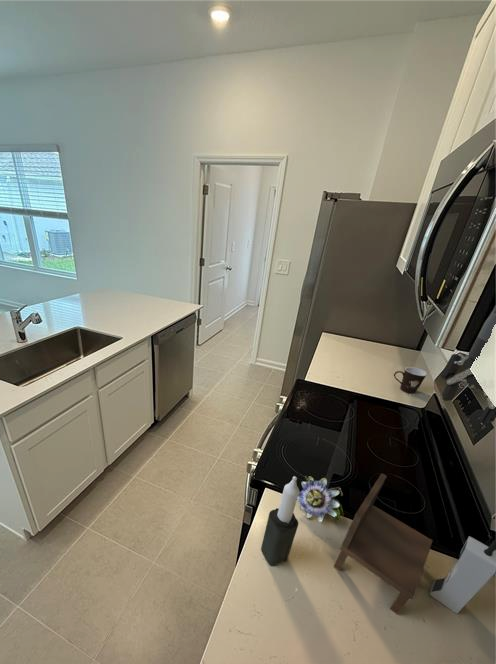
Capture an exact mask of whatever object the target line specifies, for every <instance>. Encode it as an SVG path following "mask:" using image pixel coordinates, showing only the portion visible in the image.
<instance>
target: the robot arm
mask: <svg viewBox="0 0 496 664" xmlns="http://www.w3.org/2000/svg"><path fill="white" fill-rule="evenodd" d="M495 324H496V304H495V305H494V307H493V309H492V311H491V312H490V314H489V315H488V317H487V319H485V321H484V322H483V325H482V326H481V328H480V331H479V332H478V335H477V336H476V338H475V340H474V342H473V344H472V346H471V348H470V350H469V352H468V357H467V355H466V354H465V353H453V354H451V355H450V358H449V359H448V360H447V363H446V365H445V367H444V368H443V370H442V372H441V373H440V378H441V379H444V380H445V381H446V386H445V388H444V389H443V391H442V394H441V396H442V398H441V399H442V400H443V401H445V402H449V401H452V400H453V399H455V395H456V394H457V392H458V390H459V389H460V384H463V383H464V382H466V383H467V384H469V385H472V386H475V387H476V389H478V390H481V391H483V389H482V388H481V386H480V385H479V383H478V382H477V380H476V379H475V377H474V375H473V374H472V373H471V370H470V368H471V366H472V364H473V362H474V361H475V359H476V357H477V358H478V356H480V353H481V350H482V348H483V347H484V345H485V343H487V342H488V339H489V338H490V336H491V333H492V329H493V327H494V325H495ZM476 360H477V359H476ZM461 366H463V371H461V372H459V373H458V371H459V369H460V368H461ZM483 396H484V397H485V398H486V402H487V406H486V407H485V409H483V412H482V413H481V415H480V417H479V418H478V420H477V421H478V422H479V423H480V424H489V423H493V422H495V420H496V407H495V406H494V405H493V404H492V402H491V401H490V399H489V398H488V396H487V395H486V394H485V392H484V391H483Z"/></svg>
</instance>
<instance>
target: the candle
mask: <svg viewBox="0 0 496 664" xmlns="http://www.w3.org/2000/svg"><path fill="white" fill-rule="evenodd" d="M297 480H298V478H297V476H295V475H293V476H292V479H291V481H290V482H288V483H286V484H285V485H284V487H283V491H282V494H281V499H280V502H279V506H278V508H277V507H276V508H275V509H273V510H270V511H269V513H268V518H267V522H266V525H265V529H264V533H263V539H262V543H261V547H260V551H261V553H262V555H263V557H264V558H265V561H266V562H267V564H268V565H269V566H271V567H275V566H276V565H278V564H281V563H286V562H287V561H288V558H289V556H290V552H291V550H292V546H293V543H294V540H295V536H296V533H297V530H298V527H299V521H298V518H297V517H296V515H295V513H294V511H295V507H296V504H297V502H298V500H297V498H298V494H299V492H300V489H299V487H298V485H297V484H298V483H297Z"/></svg>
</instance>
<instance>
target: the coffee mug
mask: <svg viewBox="0 0 496 664" xmlns="http://www.w3.org/2000/svg"><path fill="white" fill-rule="evenodd" d="M398 373H400V374H402V379H401V381H400V380H399V379H398V378H397V377H396V375H397V374H398ZM427 375H428V373H427V372H426V371H425V370H423V369H420V368H419V367H414V366H407V367H405V368H404V372H403V371H401V370H397V371H395V372H394V373H393V377H394V379H395V380H396V381H397V382H398V383H399V384H400V387H399V389H400V390H401V391H402V392H404V393H406V394H411V395H414V394H416V392H417V391H418V389H419V388H420V386H421V384H422V383H423V381H424V380H425V379H426V377H427Z"/></svg>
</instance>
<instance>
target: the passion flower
mask: <svg viewBox="0 0 496 664" xmlns="http://www.w3.org/2000/svg"><path fill="white" fill-rule="evenodd" d="M304 478H305V481H301V482H300V483H301V486H302V490H301V491H299V494H298V498H297V501H298V502H299V504H300V505H299V510H300V511H304V512H305V518H306V519H311V518H312V517H313V516H315V517H316V520H317V521H318V522H319V523H322V522H323V521H324V519H325V516H326V515H329V516H331V517H332V518H334V521H335V522H336V521H337V522H338V521H340V520H341V517H344V508H343V505H342V503H341V502H340V501H339V500H338V499H337V498H336V497H337V496H339V495H340V497H343V496H344V493H343V491H342V488H341V487H339V486H338V487H332V488H328V487H327V485H328V479H327V478H326V477H322V478H321V479H320V480H315V479H314V478H313V477H312V476H310V475H309V476H307V475H304ZM337 489H338V490H337Z"/></svg>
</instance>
